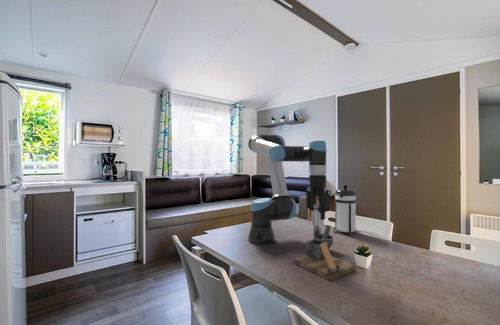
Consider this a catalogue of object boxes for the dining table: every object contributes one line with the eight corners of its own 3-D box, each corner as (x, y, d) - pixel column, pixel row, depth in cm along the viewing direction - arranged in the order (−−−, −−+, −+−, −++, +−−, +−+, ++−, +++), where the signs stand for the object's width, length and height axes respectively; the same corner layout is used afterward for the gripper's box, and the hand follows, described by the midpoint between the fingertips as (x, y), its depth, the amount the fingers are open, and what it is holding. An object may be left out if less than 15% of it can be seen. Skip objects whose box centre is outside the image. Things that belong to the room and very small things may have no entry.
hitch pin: (316, 233, 113) (316, 203, 113) (323, 235, 110) (323, 205, 110) (311, 235, 111) (311, 204, 111) (318, 237, 108) (318, 206, 108)
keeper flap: (318, 244, 98) (320, 243, 97) (324, 242, 100) (326, 241, 99) (329, 273, 93) (332, 272, 93) (336, 270, 96) (338, 270, 95)
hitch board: (293, 262, 107) (293, 244, 107) (316, 254, 117) (316, 238, 117) (331, 281, 91) (331, 260, 91) (355, 270, 100) (355, 251, 100)
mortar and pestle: (326, 255, 116) (326, 230, 116) (309, 250, 123) (309, 226, 122) (337, 249, 123) (337, 226, 123) (321, 244, 130) (321, 222, 130)
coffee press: (364, 235, 145) (364, 186, 145) (337, 235, 145) (337, 186, 145) (352, 227, 163) (352, 183, 162) (328, 227, 163) (328, 183, 162)
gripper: (298, 173, 115) (298, 222, 115) (327, 175, 101) (327, 231, 102) (309, 173, 119) (309, 220, 119) (338, 175, 106) (338, 228, 106)
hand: (317, 225), depth 110 cm, fingers closed on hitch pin, 3 cm apart
